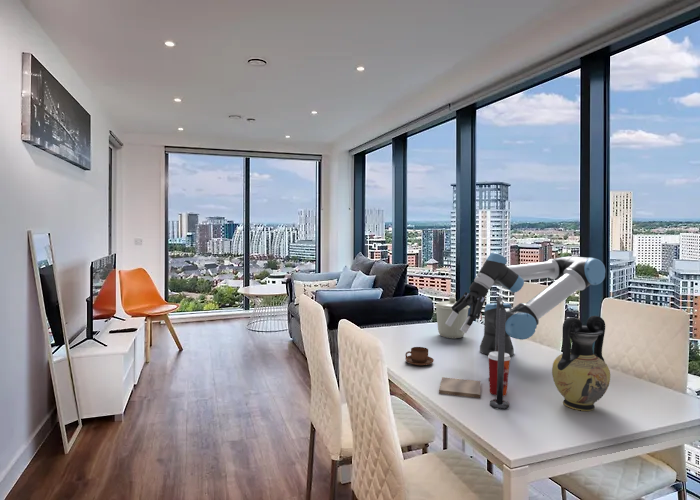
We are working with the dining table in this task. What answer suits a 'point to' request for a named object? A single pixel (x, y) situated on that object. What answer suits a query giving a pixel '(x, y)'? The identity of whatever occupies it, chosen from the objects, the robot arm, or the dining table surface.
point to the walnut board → (460, 387)
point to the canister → (443, 314)
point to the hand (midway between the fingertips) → (455, 328)
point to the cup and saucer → (419, 356)
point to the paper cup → (493, 372)
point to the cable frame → (500, 355)
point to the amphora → (582, 364)
